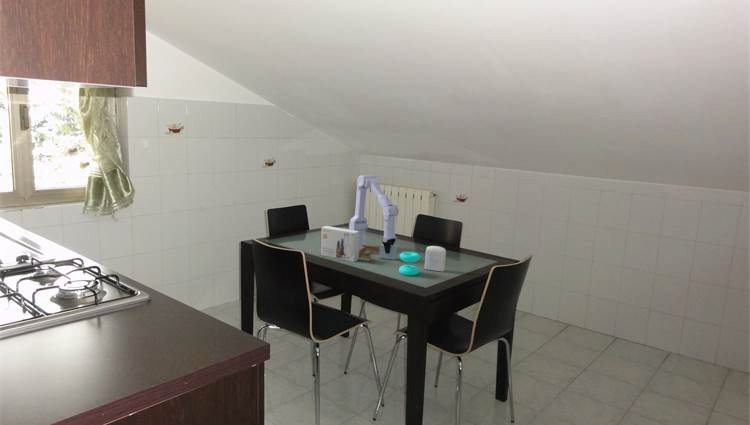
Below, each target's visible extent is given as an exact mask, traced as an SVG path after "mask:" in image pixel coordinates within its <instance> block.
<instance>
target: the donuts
mask: <svg viewBox="0 0 750 425" xmlns="http://www.w3.org/2000/svg"><path fill="white" fill-rule="evenodd" d="M420 258H421V256H420V254H419V253H418V252H414V251H402V252H401V253H400V254H399V259H400V260H401V261H403V262H405V263H416V262H419V260H420ZM398 272H399V274H401V275H403V276H407V277H408V276H417V275H419V273H420V269H419V268H418V267H417V266H416V265H412V264H403V265H401V266H400V267H399V268H398Z"/></svg>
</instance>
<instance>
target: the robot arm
mask: <svg viewBox="0 0 750 425" xmlns="http://www.w3.org/2000/svg"><path fill="white" fill-rule="evenodd" d="M368 189H371V190H372V192H373V193H374V194H375V196H376V197H377V202H378V204H379V205H380V207H381V208H382V215H383V219H384V224H383V226H384V227H383V228H384V229H383V238H382V241H381V242H382V243H381V244H383V245H384V248H385V253H388V254H389V253H390V248H391V245H394V246H395V243H396V241H397V236H396V218H397V217H396V216H398V214H399V209H398V206H397V205H395V204H394V203H392V200H390V198H389V196H388V195H387V194H384V192H383V190H382V189H381V186H380V184H379V179H378V177H377V175H376V174H363V175H362V174H361V175H359V176H358V177H357V179H356V197H355V207H354V208H355V211H354V215H353V217H351V218H350V220H349V224H348V229H349V230H355V231H359V249H360V248H362V247H363V245H367V244H366V242H367V234H366V232H367V231H368V228H369V227H368V219H367V218H366V217H365V213H366V212H365V209H366V197H367V190H368Z"/></svg>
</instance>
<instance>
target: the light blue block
mask: <svg viewBox="0 0 750 425" xmlns="http://www.w3.org/2000/svg"><path fill="white" fill-rule="evenodd" d="M379 247H380V249H379V254H378V255H379V257H378V258H379V259H385V260H386V259H387V260H393V261H394V260H397V258H398V245H395V244H394V245H391V248H390V253H389V254H388V253H385V248H384V245H383V243H381V244H379Z"/></svg>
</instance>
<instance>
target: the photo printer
mask: <svg viewBox="0 0 750 425" xmlns="http://www.w3.org/2000/svg"><path fill="white" fill-rule="evenodd" d="M446 257H447V251H446V248H445V247H442V246H438V245H429V246H426V249H425V257H424V258H425V259H424V269H425V270H429V271H436V272H437V271H438V272H443V273H444V272H445V270H446Z"/></svg>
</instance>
